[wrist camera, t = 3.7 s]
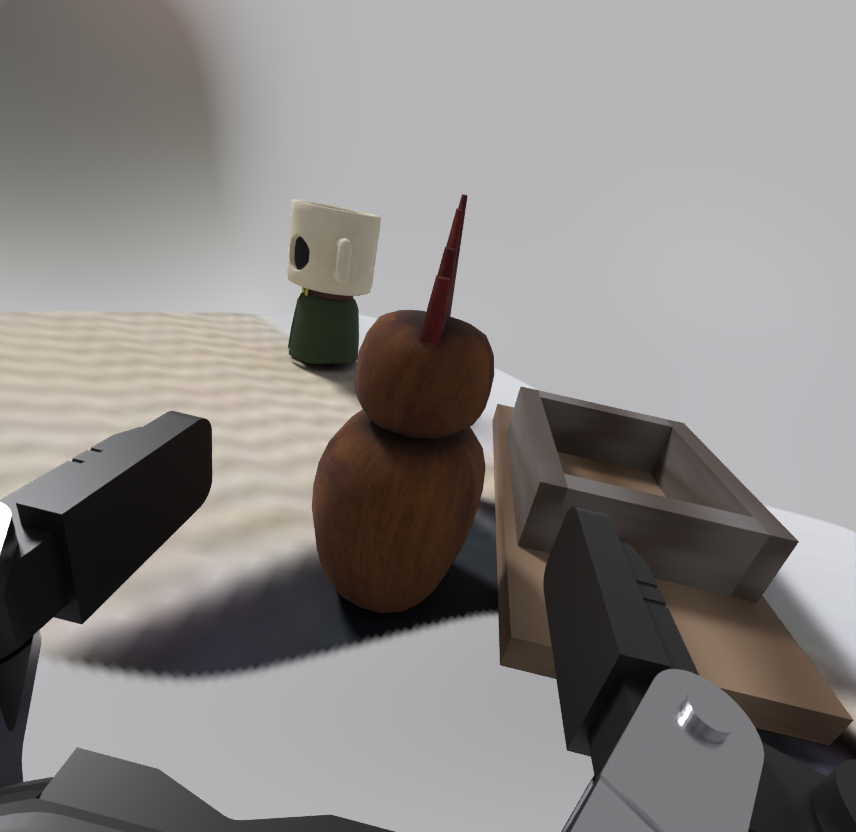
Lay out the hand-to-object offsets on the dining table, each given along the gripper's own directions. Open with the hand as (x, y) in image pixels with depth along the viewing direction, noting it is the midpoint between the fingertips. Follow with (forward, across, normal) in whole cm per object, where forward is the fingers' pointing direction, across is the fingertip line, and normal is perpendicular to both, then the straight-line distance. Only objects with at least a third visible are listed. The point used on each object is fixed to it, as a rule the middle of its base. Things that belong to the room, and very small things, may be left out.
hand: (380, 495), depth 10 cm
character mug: (+30, +11, +9) cm, 34 cm away
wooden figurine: (+6, 0, +9) cm, 11 cm away
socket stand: (+14, -11, +8) cm, 20 cm away
